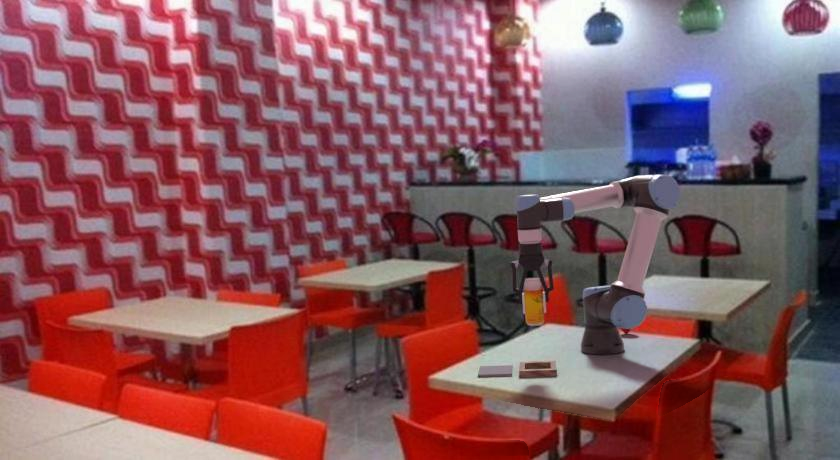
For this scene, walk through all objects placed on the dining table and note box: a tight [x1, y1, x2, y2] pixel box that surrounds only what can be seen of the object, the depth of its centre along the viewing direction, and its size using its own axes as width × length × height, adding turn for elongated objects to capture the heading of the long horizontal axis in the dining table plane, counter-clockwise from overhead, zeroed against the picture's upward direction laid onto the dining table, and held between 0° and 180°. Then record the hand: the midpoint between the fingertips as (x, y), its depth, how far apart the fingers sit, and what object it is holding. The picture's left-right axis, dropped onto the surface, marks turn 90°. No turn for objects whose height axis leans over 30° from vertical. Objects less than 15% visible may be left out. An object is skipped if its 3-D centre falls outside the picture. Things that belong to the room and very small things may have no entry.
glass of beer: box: [523, 277, 545, 327], centre depth 253 cm, size 6×6×15 cm
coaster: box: [477, 364, 513, 378], centre depth 257 cm, size 11×11×1 cm
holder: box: [518, 360, 558, 378], centre depth 254 cm, size 12×12×2 cm
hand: (534, 312), depth 253 cm, fingers closed on glass of beer, 6 cm apart
